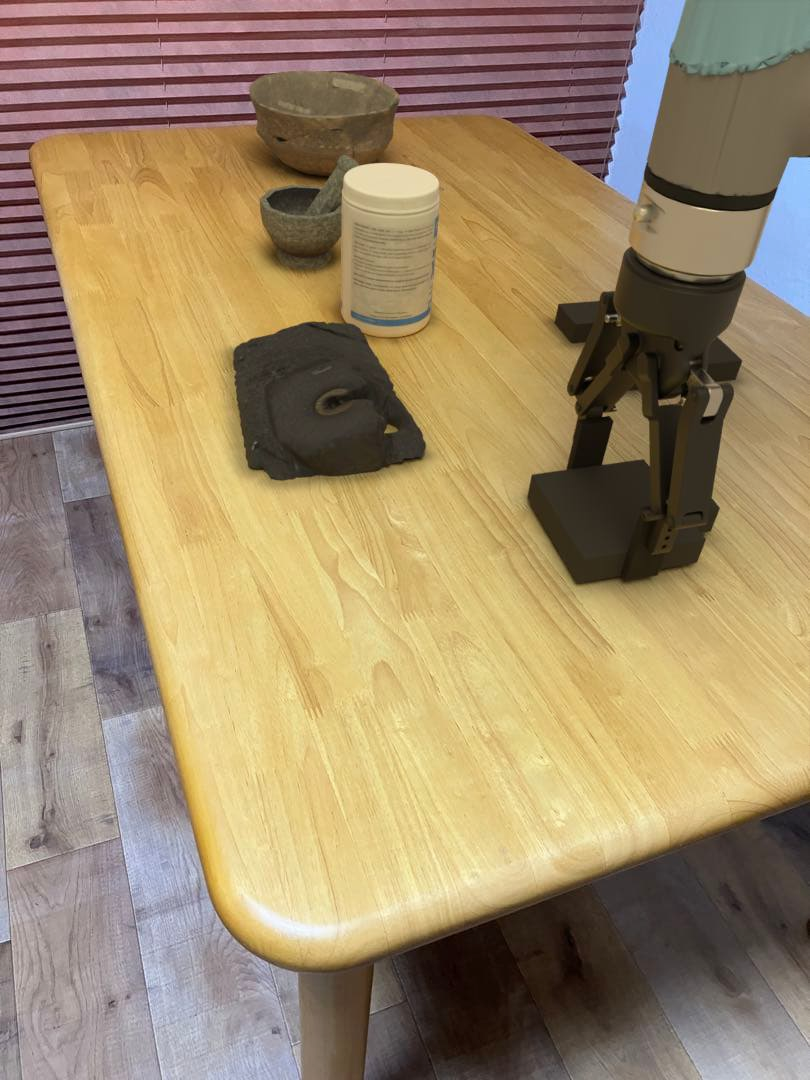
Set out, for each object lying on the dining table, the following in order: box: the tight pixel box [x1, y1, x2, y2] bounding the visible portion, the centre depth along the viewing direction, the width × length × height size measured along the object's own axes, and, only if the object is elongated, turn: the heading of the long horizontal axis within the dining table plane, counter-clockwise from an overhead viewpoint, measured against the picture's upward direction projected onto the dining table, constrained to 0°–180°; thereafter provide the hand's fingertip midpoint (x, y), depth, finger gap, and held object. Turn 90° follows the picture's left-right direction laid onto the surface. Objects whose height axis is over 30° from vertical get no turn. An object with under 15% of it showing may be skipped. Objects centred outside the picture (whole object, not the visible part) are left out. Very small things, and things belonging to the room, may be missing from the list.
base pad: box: [554, 300, 743, 392], centre depth 91 cm, size 14×14×2 cm
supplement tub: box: [340, 162, 441, 339], centre depth 88 cm, size 10×10×15 cm
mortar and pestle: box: [259, 155, 360, 270], centre depth 98 cm, size 11×9×12 cm
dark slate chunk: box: [232, 320, 427, 482], centre depth 78 cm, size 15×22×5 cm
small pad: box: [526, 458, 720, 584], centre depth 68 cm, size 13×10×2 cm
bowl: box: [248, 69, 401, 177], centre depth 122 cm, size 21×21×10 cm
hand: (607, 527), depth 68 cm, fingers closed on small pad, 10 cm apart
